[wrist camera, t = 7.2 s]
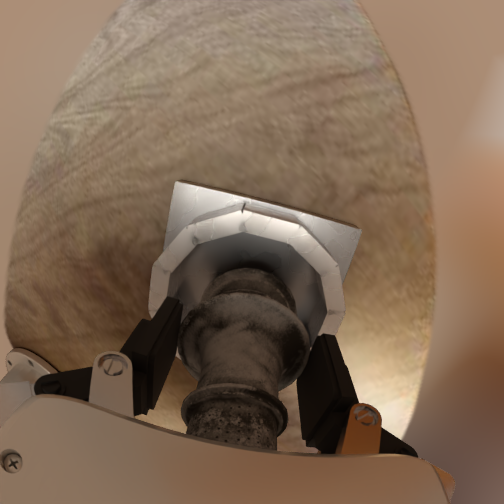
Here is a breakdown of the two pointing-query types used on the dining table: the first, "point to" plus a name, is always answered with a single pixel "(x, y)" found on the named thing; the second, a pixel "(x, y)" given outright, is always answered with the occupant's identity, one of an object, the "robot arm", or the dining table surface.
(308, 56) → the dining table surface
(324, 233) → the hub plate
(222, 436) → the salt shaker
